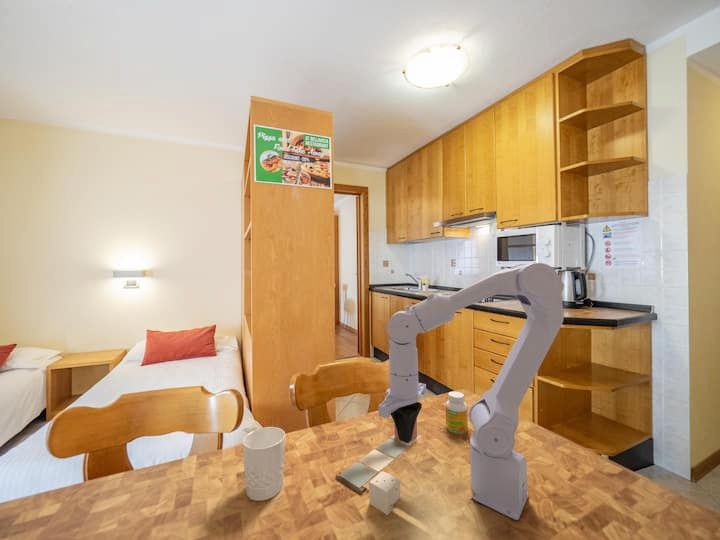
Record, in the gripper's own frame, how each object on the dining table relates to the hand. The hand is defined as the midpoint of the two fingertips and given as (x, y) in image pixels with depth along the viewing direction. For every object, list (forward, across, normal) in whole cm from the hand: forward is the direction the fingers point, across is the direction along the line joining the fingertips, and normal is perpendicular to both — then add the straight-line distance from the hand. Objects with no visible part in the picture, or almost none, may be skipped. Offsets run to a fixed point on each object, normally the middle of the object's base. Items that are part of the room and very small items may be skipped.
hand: (405, 440), depth 60 cm
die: (+8, +7, 0) cm, 11 cm away
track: (+8, -4, -8) cm, 12 cm away
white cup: (+8, +19, -20) cm, 29 cm away
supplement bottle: (+9, -25, 0) cm, 26 cm away
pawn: (+8, -13, -8) cm, 17 cm away
